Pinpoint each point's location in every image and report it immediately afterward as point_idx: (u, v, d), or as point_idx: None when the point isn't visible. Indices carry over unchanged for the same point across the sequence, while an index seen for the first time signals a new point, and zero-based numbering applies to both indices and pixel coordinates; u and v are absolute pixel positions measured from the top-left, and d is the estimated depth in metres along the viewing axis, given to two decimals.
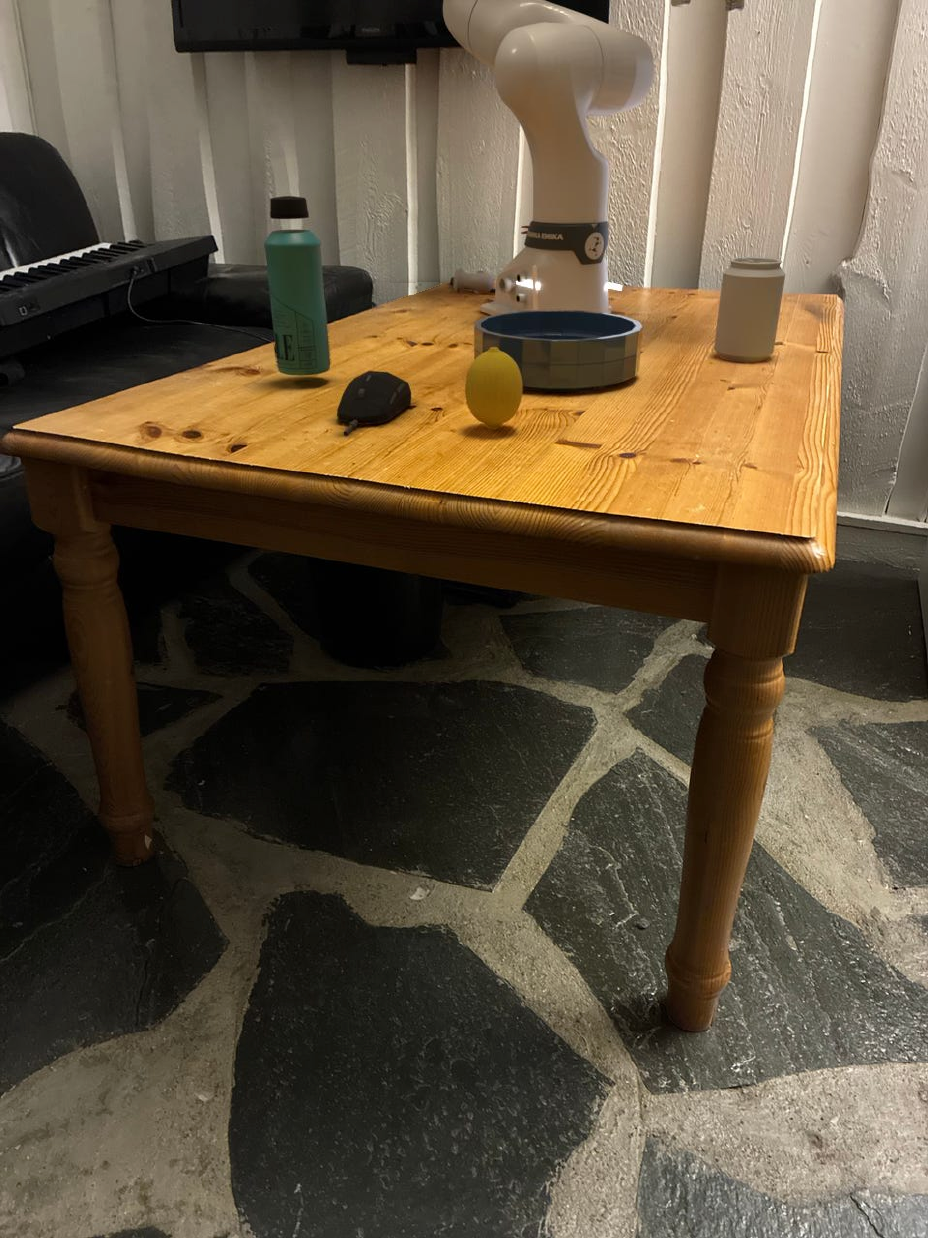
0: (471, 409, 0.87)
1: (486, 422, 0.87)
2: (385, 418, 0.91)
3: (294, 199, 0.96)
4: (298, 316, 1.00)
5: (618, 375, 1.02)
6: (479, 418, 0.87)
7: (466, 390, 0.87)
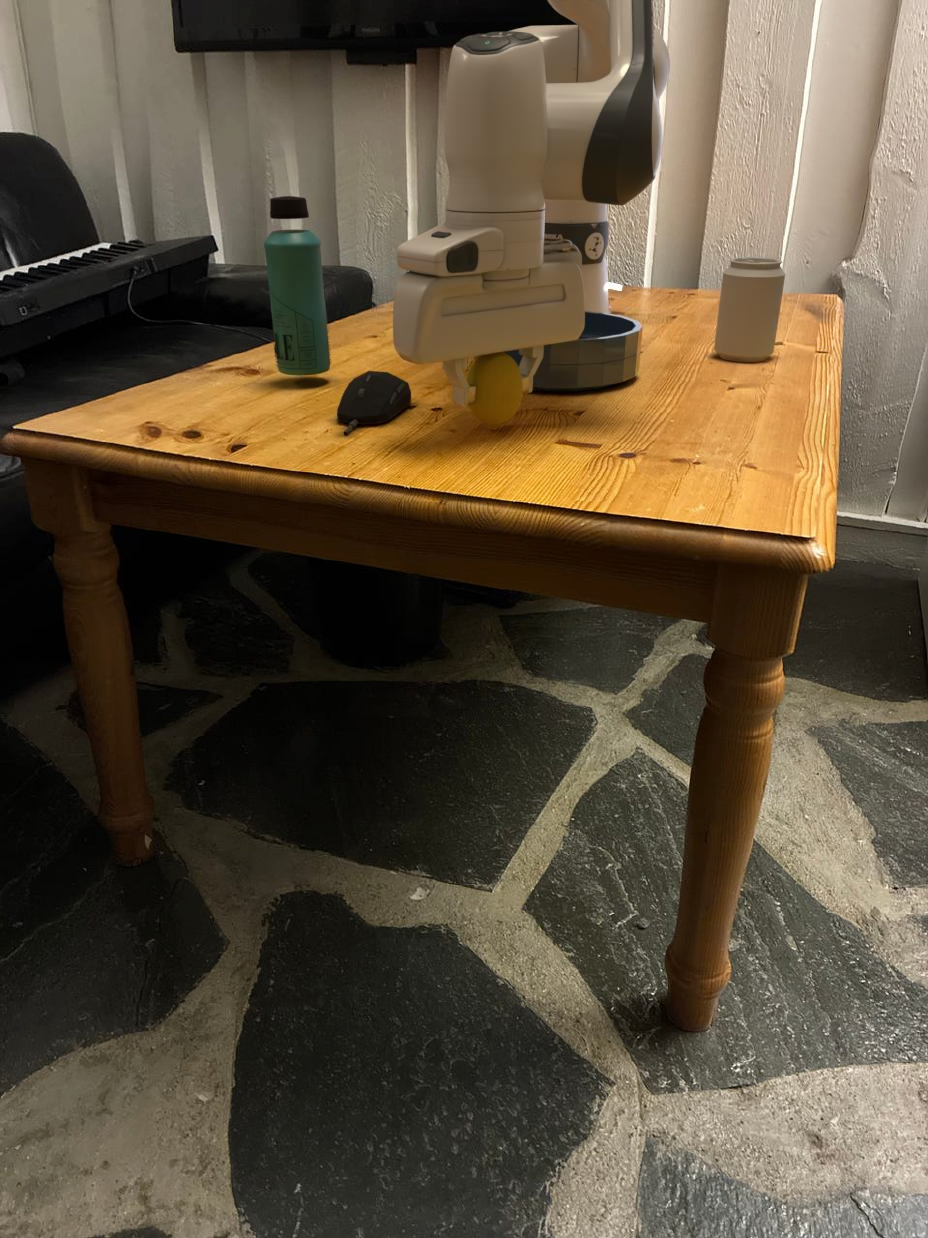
0: (471, 409, 0.87)
1: (486, 422, 0.87)
2: (385, 418, 0.91)
3: (294, 199, 0.96)
4: (298, 316, 1.00)
5: (618, 375, 1.02)
6: (479, 418, 0.87)
7: None
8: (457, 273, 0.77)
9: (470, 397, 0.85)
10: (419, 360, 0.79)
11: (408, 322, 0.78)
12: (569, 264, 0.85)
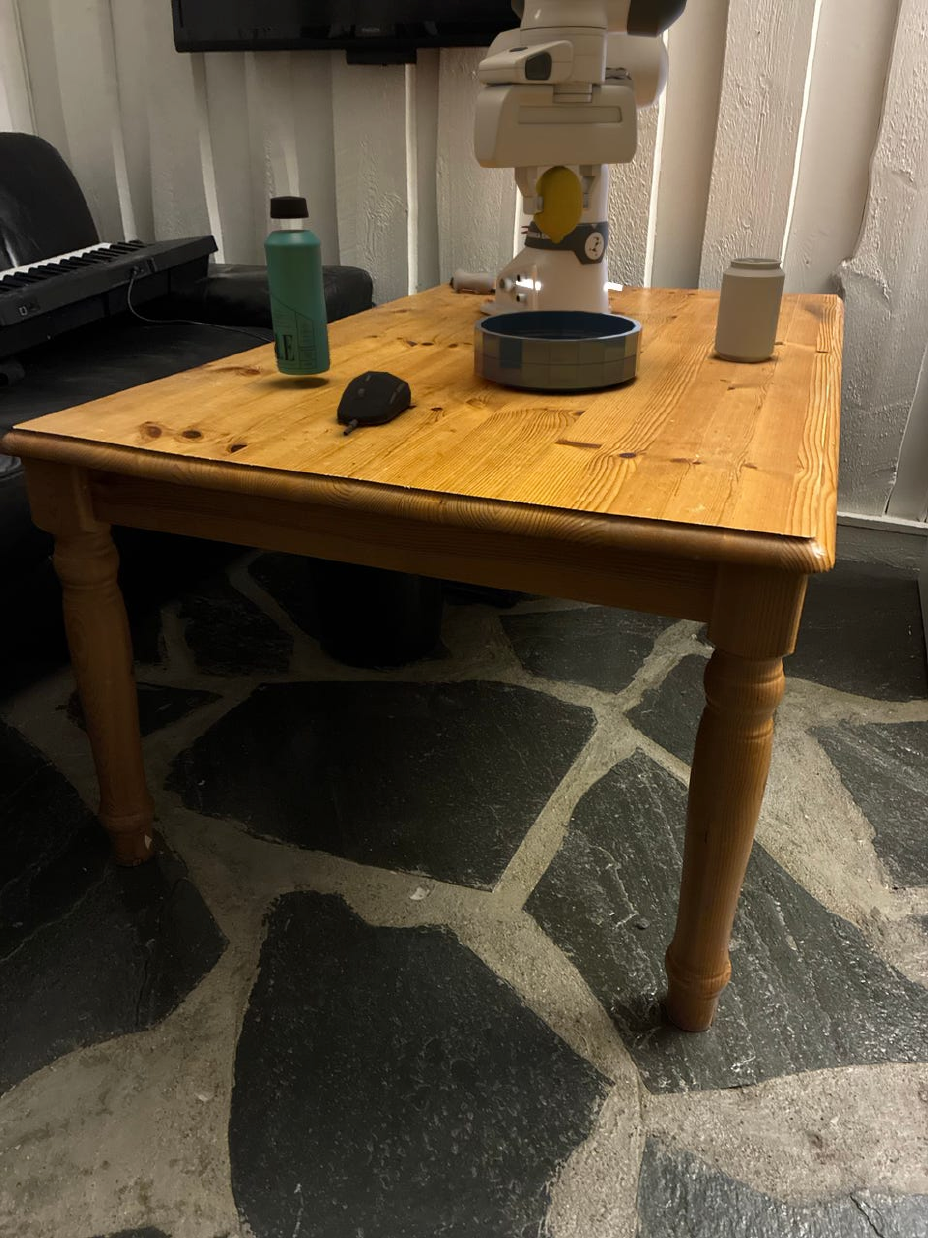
0: (538, 220, 0.99)
1: (551, 233, 0.99)
2: (385, 418, 0.91)
3: (294, 199, 0.96)
4: (298, 316, 1.00)
5: (618, 375, 1.02)
6: (545, 229, 0.99)
7: None
8: (533, 81, 0.88)
9: (538, 206, 0.97)
10: (498, 163, 0.91)
11: (489, 127, 0.90)
12: (625, 88, 0.96)
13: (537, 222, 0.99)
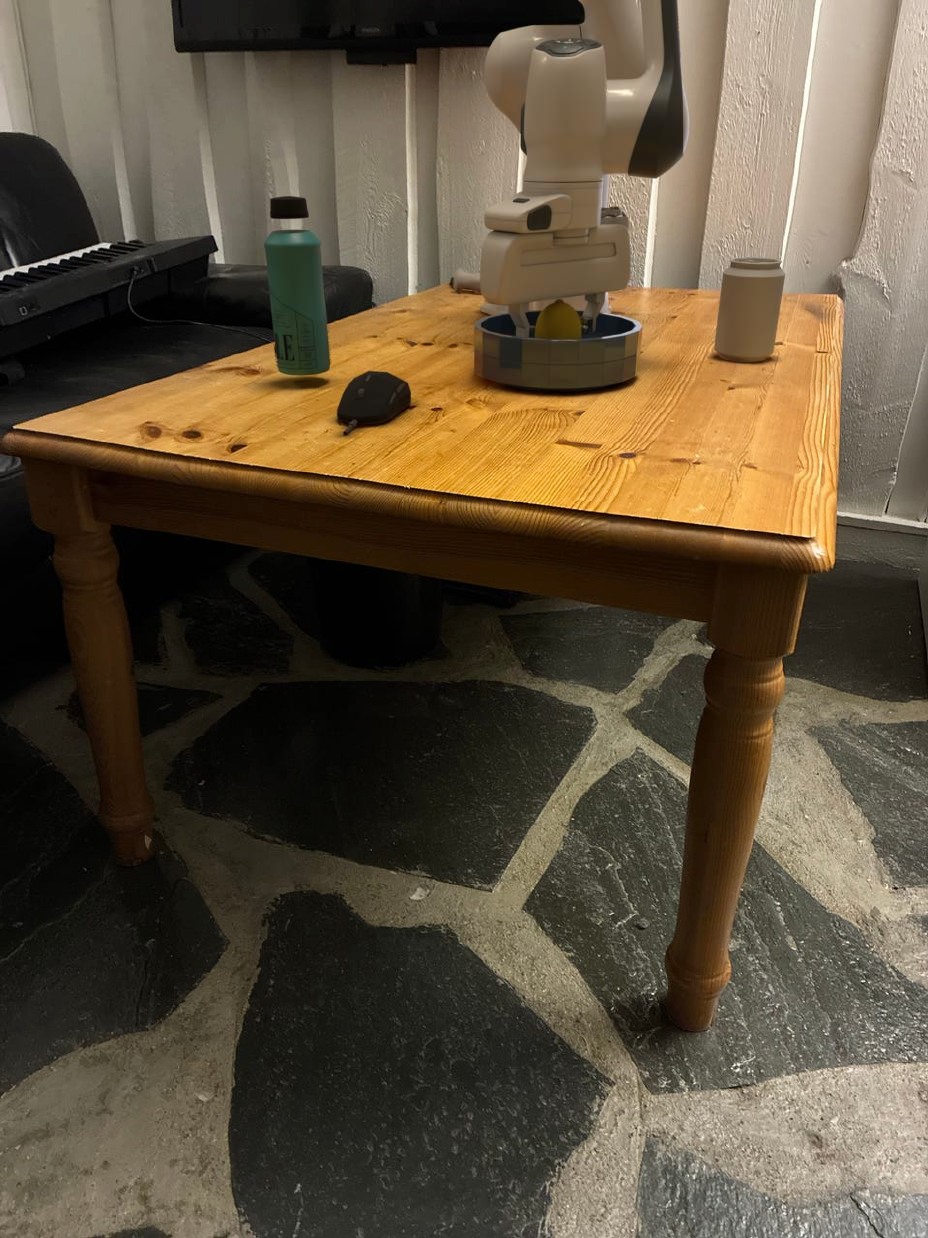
0: None
1: None
2: (385, 418, 0.91)
3: (294, 199, 0.96)
4: (298, 316, 1.00)
5: (618, 375, 1.02)
6: None
7: (536, 335, 1.06)
8: (535, 230, 0.96)
9: (530, 336, 1.04)
10: (502, 301, 0.99)
11: (494, 270, 0.98)
12: (619, 226, 1.04)
13: None
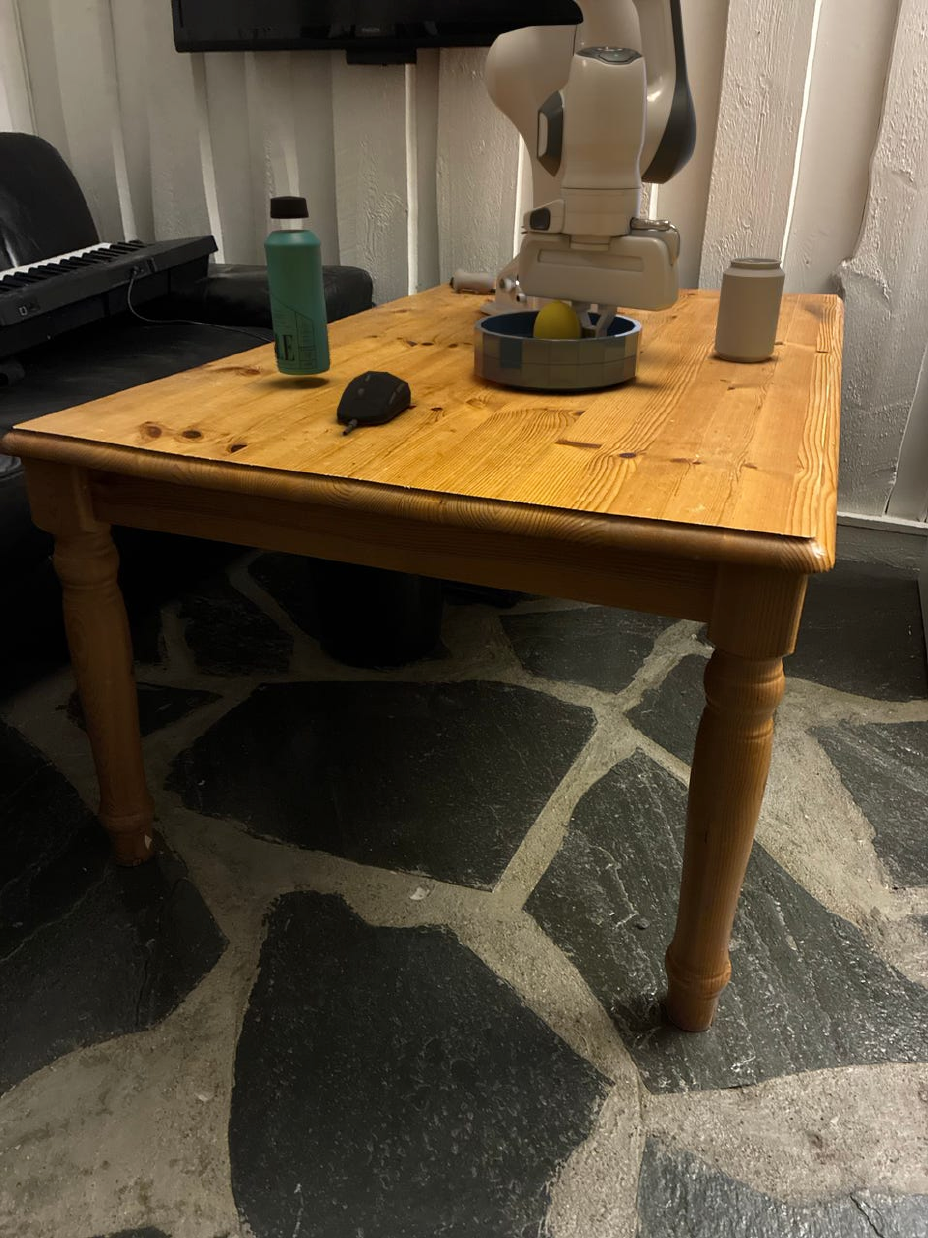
0: None
1: None
2: (384, 418, 0.91)
3: (294, 199, 0.96)
4: (298, 316, 1.00)
5: (618, 375, 1.02)
6: None
7: (535, 336, 1.06)
8: (537, 230, 1.04)
9: (583, 336, 1.07)
10: (522, 291, 1.10)
11: None
12: (647, 241, 0.97)
13: None
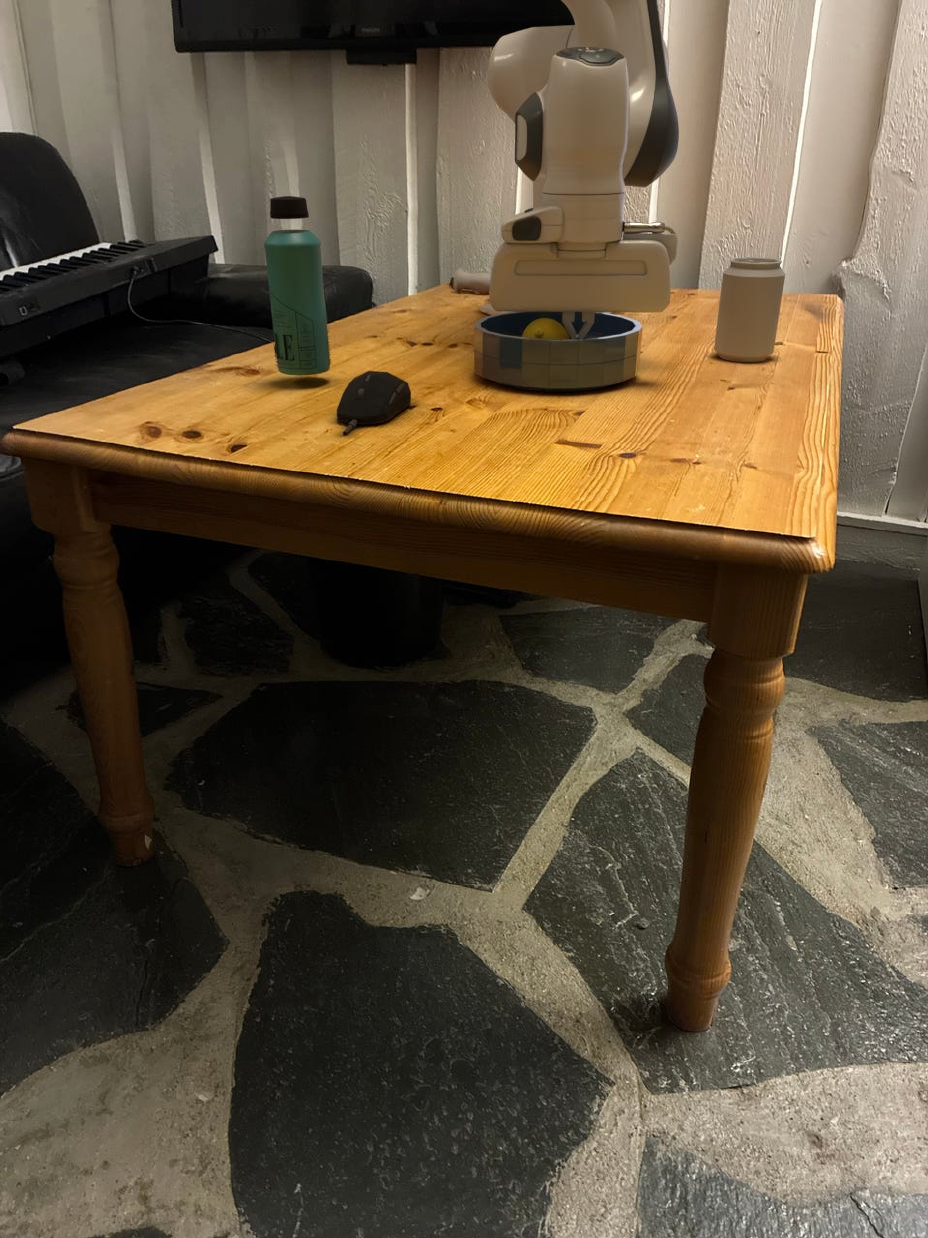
0: None
1: None
2: (384, 418, 0.91)
3: (294, 199, 0.96)
4: (298, 316, 1.00)
5: (618, 375, 1.02)
6: None
7: None
8: (522, 241, 0.97)
9: None
10: (494, 307, 1.02)
11: None
12: (651, 244, 0.97)
13: None
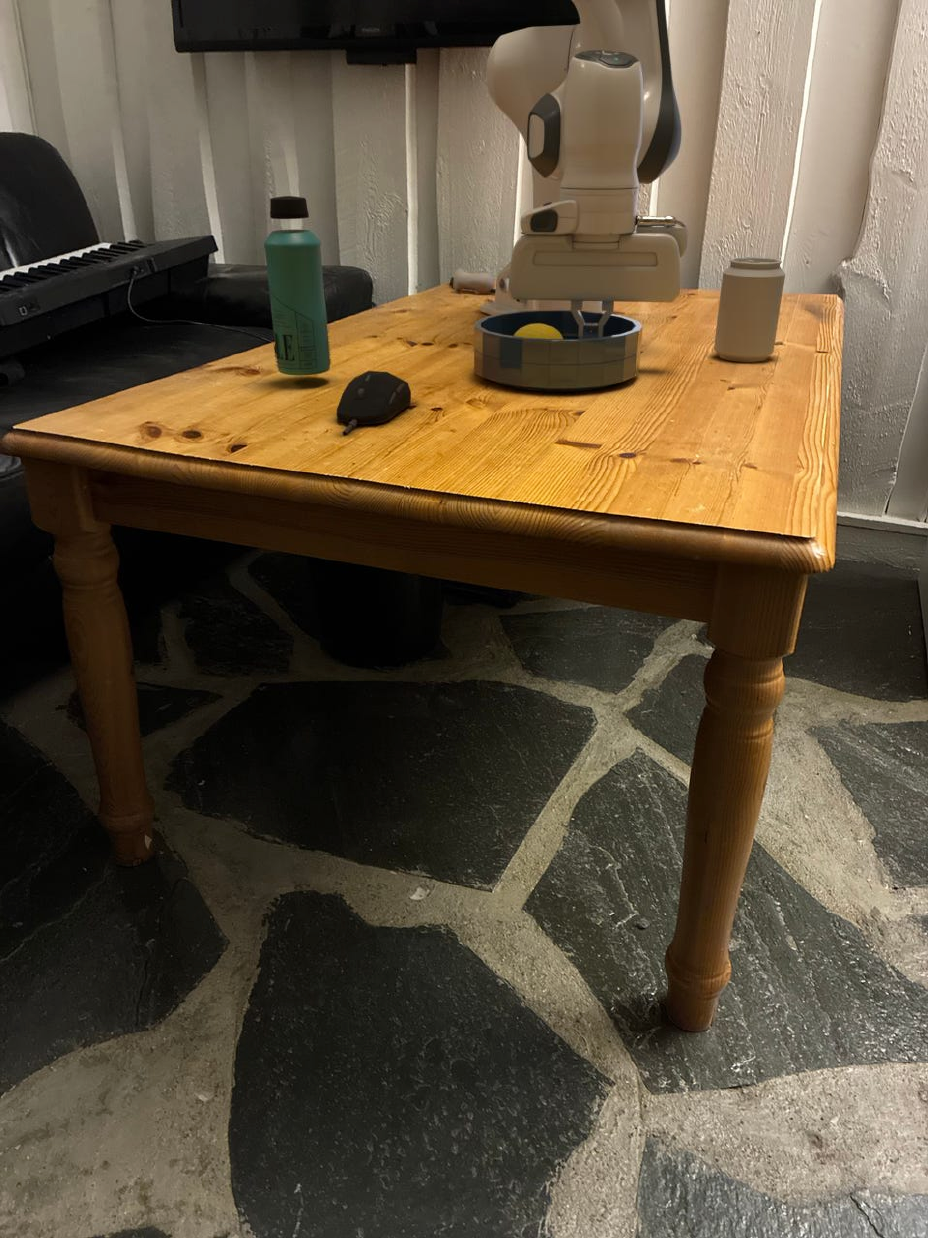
0: None
1: None
2: (384, 418, 0.91)
3: (294, 199, 0.96)
4: (298, 316, 1.00)
5: (618, 375, 1.02)
6: None
7: None
8: (539, 232, 1.03)
9: (584, 333, 1.10)
10: (513, 295, 1.08)
11: None
12: (662, 236, 1.02)
13: None
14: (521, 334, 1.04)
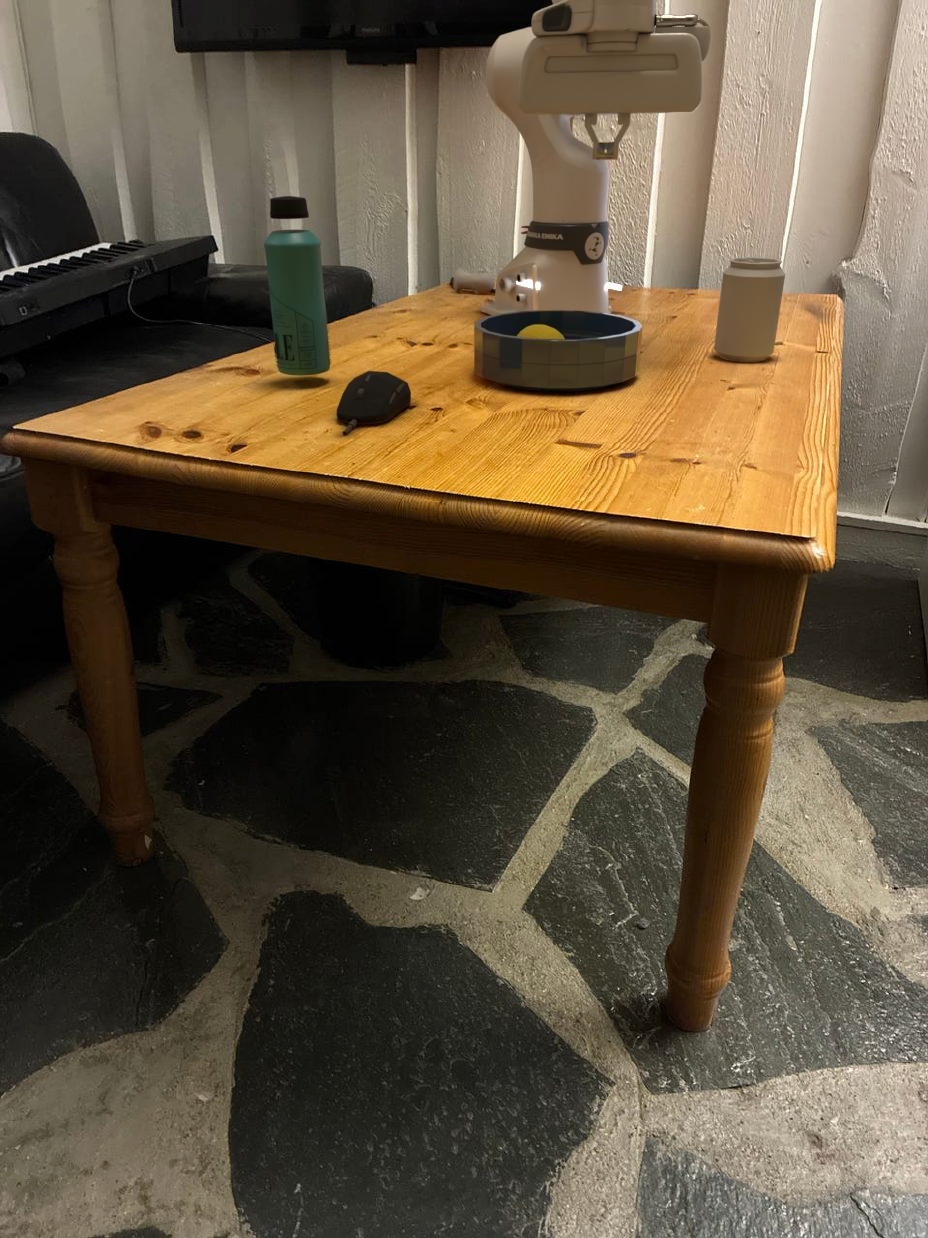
0: None
1: None
2: (384, 418, 0.91)
3: (294, 199, 0.96)
4: (298, 316, 1.00)
5: (618, 375, 1.02)
6: None
7: None
8: (552, 32, 0.97)
9: (599, 152, 1.03)
10: (523, 109, 1.02)
11: None
12: (683, 35, 0.96)
13: None
14: (526, 335, 1.04)
